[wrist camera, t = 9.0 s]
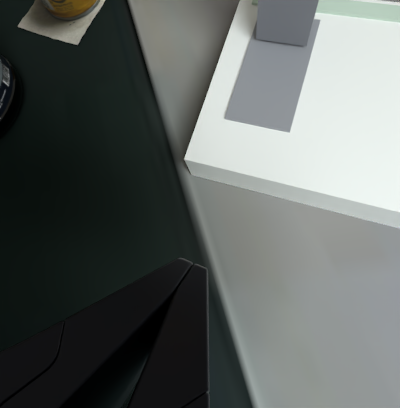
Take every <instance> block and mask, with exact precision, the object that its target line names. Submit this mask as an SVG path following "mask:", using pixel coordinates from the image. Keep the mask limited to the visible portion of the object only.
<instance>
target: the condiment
mask: <svg viewBox="0 0 400 408" xmlns="http://www.w3.org/2000/svg"><path fill="white" fill-rule="evenodd" d="M104 2H105V0H35V2H34V4H33V6H32V7H31V8H30V10H29V12H28V13H27V14H26V15H25V16H24V17H23V18H22V20H21V22H20V24H19V25H18V27H20V28H23V29H25V30H28V31H31V32H34V33H37V34H40V35H43V36H47V37H50V38H52V39H58V40H61V41H64V42H67V43H72V44H75V45H78V43H79V42H80V40H81V38H82V36H83V35H84V34H85V32H86V29H87V28H88V27H89V25H90V24H91V22H92V20H93V18H94V17H95V15H96V14H97V13H98V11H99V10H100V9H101V7H102V5H103V4H104ZM73 22H75V23H73ZM69 24H71V25H70V26H69Z"/></svg>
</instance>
